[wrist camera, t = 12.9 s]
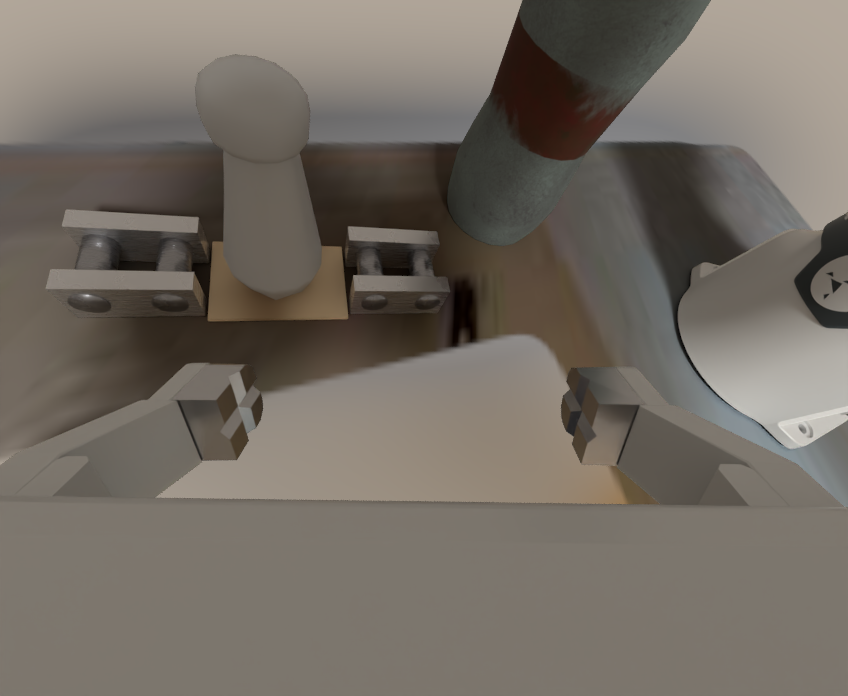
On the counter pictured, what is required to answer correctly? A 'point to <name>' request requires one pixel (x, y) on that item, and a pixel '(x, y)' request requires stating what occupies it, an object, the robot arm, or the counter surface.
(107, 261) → the chain end
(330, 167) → the counter surface
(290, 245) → the salt shaker
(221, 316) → the pad
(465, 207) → the bottle
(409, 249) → the chain end
